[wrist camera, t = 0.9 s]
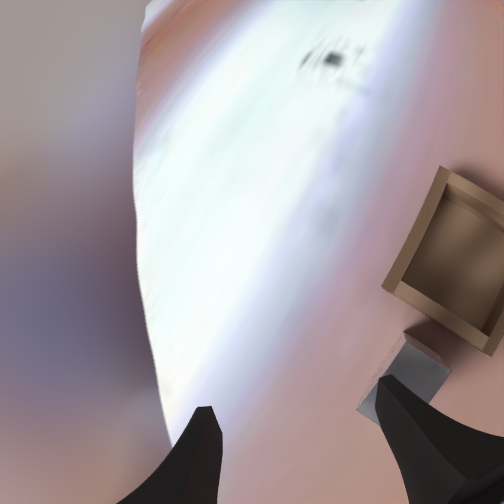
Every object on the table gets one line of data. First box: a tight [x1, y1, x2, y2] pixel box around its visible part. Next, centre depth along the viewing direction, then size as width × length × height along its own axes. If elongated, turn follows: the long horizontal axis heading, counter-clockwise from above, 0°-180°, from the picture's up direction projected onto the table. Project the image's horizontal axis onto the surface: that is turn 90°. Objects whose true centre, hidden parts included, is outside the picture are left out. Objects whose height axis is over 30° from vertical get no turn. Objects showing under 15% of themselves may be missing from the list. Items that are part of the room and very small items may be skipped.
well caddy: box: [382, 166, 504, 356], centre depth 18 cm, size 10×10×4 cm
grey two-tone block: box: [356, 331, 451, 426], centre depth 17 cm, size 4×5×7 cm
